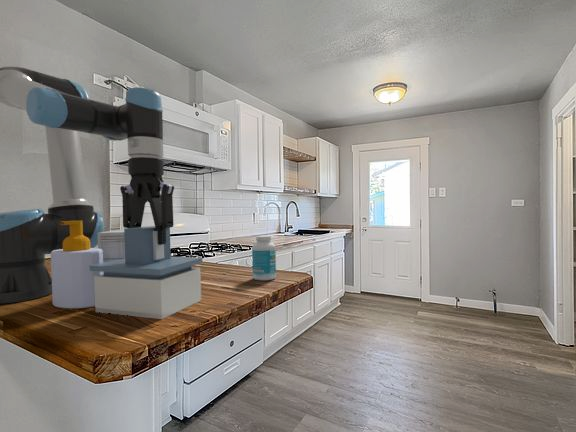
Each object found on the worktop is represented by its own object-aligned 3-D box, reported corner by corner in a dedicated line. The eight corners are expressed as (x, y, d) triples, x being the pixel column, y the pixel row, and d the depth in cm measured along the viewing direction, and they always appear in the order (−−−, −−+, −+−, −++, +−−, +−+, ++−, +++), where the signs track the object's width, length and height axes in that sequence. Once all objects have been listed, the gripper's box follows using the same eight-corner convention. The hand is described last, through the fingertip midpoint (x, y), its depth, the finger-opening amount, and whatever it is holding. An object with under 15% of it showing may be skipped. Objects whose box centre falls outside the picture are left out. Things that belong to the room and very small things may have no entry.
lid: (90, 277, 71) (88, 229, 71) (140, 265, 85) (139, 225, 85) (160, 282, 65) (159, 230, 65) (202, 268, 79) (201, 225, 79)
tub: (95, 312, 71) (94, 276, 71) (142, 295, 85) (141, 265, 84) (162, 319, 66) (160, 280, 65) (201, 300, 79) (200, 267, 79)
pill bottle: (275, 281, 98) (274, 236, 98) (251, 281, 98) (250, 237, 98) (276, 275, 105) (275, 234, 105) (254, 276, 105) (253, 235, 105)
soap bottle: (41, 307, 76) (37, 221, 76) (73, 297, 84) (70, 220, 84) (85, 310, 73) (82, 221, 72) (114, 300, 81) (111, 219, 80)
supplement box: (149, 284, 97) (147, 229, 97) (131, 292, 88) (129, 231, 87) (119, 284, 98) (117, 229, 98) (98, 292, 89) (96, 232, 88)
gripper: (102, 158, 74) (105, 259, 74) (167, 153, 68) (170, 262, 69) (128, 162, 81) (130, 254, 81) (189, 158, 75) (191, 257, 76)
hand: (148, 258), depth 75 cm, fingers closed on lid, 5 cm apart
